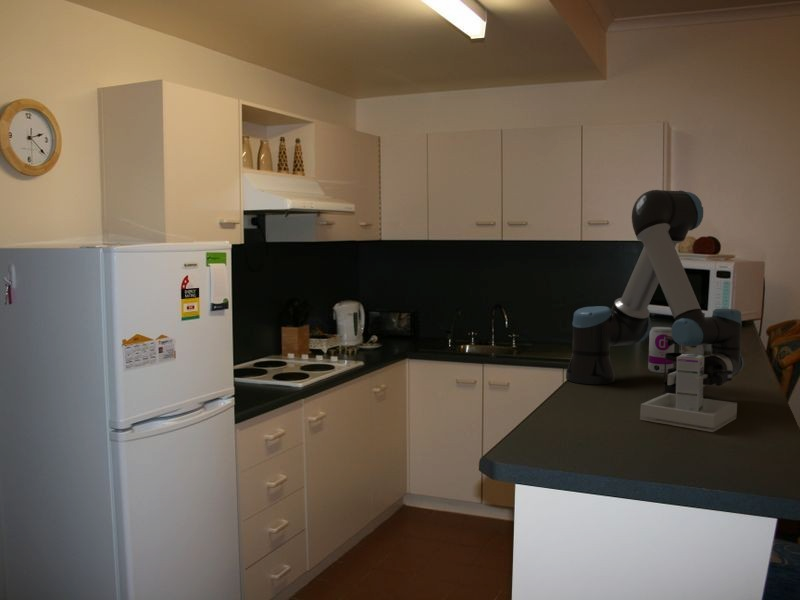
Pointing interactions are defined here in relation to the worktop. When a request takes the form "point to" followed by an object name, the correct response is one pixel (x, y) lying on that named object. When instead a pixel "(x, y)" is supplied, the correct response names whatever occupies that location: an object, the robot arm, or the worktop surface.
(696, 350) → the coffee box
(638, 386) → the worktop surface
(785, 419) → the worktop surface
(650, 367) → the supplement can
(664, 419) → the bin
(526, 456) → the worktop surface
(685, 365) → the syrup box
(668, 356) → the french press
